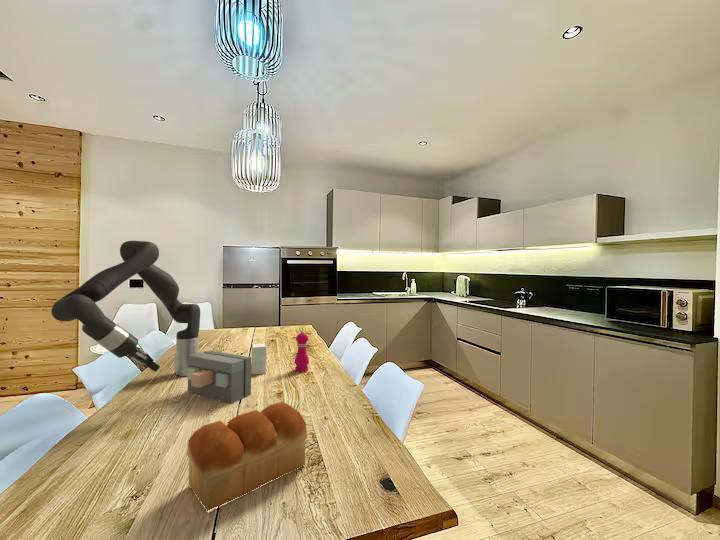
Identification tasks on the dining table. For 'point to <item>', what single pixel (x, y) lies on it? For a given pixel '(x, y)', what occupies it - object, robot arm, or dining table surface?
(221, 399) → the keypad console
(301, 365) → the pepper mill
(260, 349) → the small box
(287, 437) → the bread
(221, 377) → the grey rectangular block
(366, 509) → the dining table surface
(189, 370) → the sage key
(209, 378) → the terracotta key
